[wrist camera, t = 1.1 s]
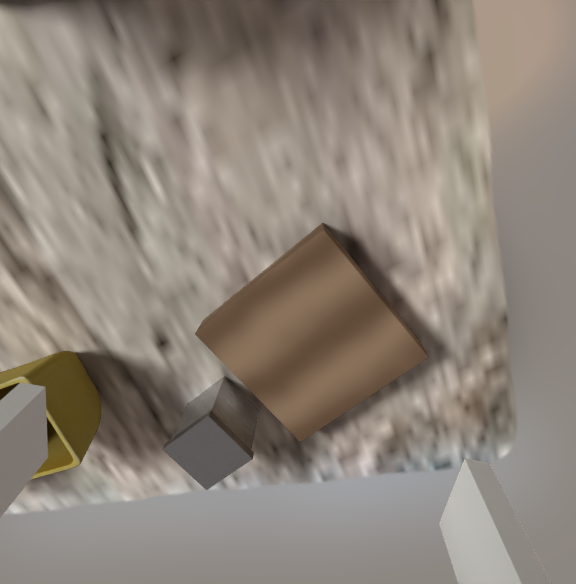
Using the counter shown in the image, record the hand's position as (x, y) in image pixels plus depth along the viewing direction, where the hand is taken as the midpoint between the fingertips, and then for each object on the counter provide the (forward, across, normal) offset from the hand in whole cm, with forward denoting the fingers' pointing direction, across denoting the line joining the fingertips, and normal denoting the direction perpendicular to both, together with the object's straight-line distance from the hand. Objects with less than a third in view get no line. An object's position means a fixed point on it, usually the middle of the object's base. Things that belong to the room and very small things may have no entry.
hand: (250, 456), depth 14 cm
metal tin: (+25, -4, -17) cm, 31 cm away
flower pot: (+26, -19, -17) cm, 36 cm away
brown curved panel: (+25, +3, -7) cm, 27 cm away
